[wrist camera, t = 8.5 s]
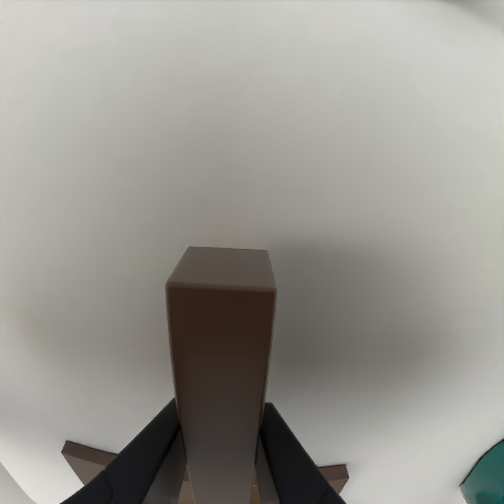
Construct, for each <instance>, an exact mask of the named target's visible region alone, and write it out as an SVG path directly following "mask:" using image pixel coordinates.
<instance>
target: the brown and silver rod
mask: <svg viewBox="0 0 504 504" xmlns="http://www.w3.org/2000/svg"><path fill="white" fill-rule="evenodd" d="M165 289H166V306H167V321H168V333H169V345H170V355H171V365H172V374H173V383H174V391H175V398H176V406H177V413H178V420H179V424H180V426H181V431H182V437H183V443H184V448H185V453H186V459H187V465H186V466H187V472H188V477H189V481H190V486H191V491H192V495H193V500H194V504H250V503H251V496H252V490H253V483H254V477H255V470H256V468H255V464H256V455H257V446H258V438H259V431H260V430H261V427H262V420H263V412H264V404H265V396H266V388H267V380H268V372H269V363H270V354H271V346H272V337H273V327H274V318H275V309H276V299H277V288H276V284H275V280H274V275H273V271H272V266H271V262H270V258H269V254H268V251H266V250H250V249H231V248H211V247H192V246H191V247H188V249H187V250H186V252H185V254H184V255H183V257H182V258H181V260H180V261H179V263H178V265H177V266H176V268H175V269H174V271H173V273H172V274H171V276H170V277H169V279H168V281H167V282H166V285H165Z"/></svg>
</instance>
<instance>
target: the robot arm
mask: <svg viewBox="0 0 504 504" xmlns="http://www.w3.org/2000/svg"><path fill="white" fill-rule="evenodd" d="M186 465H187V459H186V453H185V448H184V443H183V437H182V431H181V426H180V424H179V420H178V413H177V406H176V398H173V399H172V400H171V401H170V402H169V403H168V404H167V405H166V406H165V407H164V408H163V410H162V411H161V412H160V413H159V414H158V415H157V416H156V417H155V418H154V419H153V420H152V421H151V422H150V423H149V424H148V425H147V426H146V427H145V428H144V429H143V430H142V431H141V432H140V433H139V434H138V435H137V436H136V437H135V438H134V439H133V440H132V441H131V442H130V443H129V444H128V445H127V446H126V447H125V448H124V449H123V450H122V451H121V452H120V453H119V454H118V455H117V456H116V457H115V458H114V459H113V460H112V461H111V462H110V463H109V464H108V465H107V466H106V467H105V468H104V469H105V470H104V469H102V470H101V471H100V472H99V473H98V474H97V475H96V476H95V477H94V478H93V479H92V480H91V481H90V482H88V483H87V484H86V485H85V486H84V487H83V488H81V489H80V490H79V491H77V492H76V493H75V494H73V495H72V496H70V497H69V498H68V499H66V500H65V501H63V502H62V503H60V504H178V500H179V495H180V491H181V487H182V483H183V479H184V474H185V470H186ZM255 468H256V477H257V483H258V490H259V496H260V503H261V504H346V503H345V501H344V500H343V499H342V498H341V497H340V496H339V494H338V493H337V492H336V491H335V489H334V488H333V487H332V485H330V483H329V482H328V480H327V479H326V478H325V476H324V475H323V474H322V472H321V471H320V470H319V468H318V467H317V466H316V464H315V463H314V462H313V460H312V459H311V458H310V456H309V455H308V454H307V452H306V451H305V449H304V448H303V447H302V445H301V444H300V442H299V441H298V440H297V438H296V437H295V435H294V434H293V433H292V431H291V430H290V428H289V427H288V425H287V424H286V423H285V421H284V420H283V418H282V417H281V415H280V414H279V412H278V411H277V409H276V408H275V406H274V405H273V404H272V403H271V402H265V404H264V412H263V420H262V427H261V430H260V431H259V438H258V446H257V455H256V464H255Z"/></svg>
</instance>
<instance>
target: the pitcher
mask: <svg viewBox="0 0 504 504" xmlns="http://www.w3.org/2000/svg"><path fill="white" fill-rule="evenodd" d="M461 493H462V495H463V497H464V499H465V501H466V503H467V504H504V441H502V442H501V443H499V444H498V445H496V446H495V447H493V448H492V449H491V450H490V451H489V452H487V453H486V454H485V455H484V456H483V457H482V458H481V459H480V461H479V462H478V463H477V465H476V466H475V468H474V469H473V470H472V472H471V473H470V474H469V476H468V477H467V479H466V480H465V481H464V482H463V484H462V485H461Z"/></svg>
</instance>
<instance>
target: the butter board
mask: <svg viewBox="0 0 504 504" xmlns="http://www.w3.org/2000/svg"><path fill="white" fill-rule="evenodd" d="M61 453H62V455H63V456H64V458H65V459H66V460H67V462H68V463H69V465H70V466H71V468H72V469H73V471H74V472H75V473H76V475H77V476H78V477H79V479H80V480H81V481H82V483H83V484H84V485H86V484H87V483H88V482H90V481H91V480H92V479H93V478H94V477H95V476H96V475H97V474H98V473H99V472H100V471H101V470H102V469H104V468H105V467H106V466H107V465H108V464H109V463H110V462H111V461H112V460H113V459H114V458H115V457H116V456H117V455H115V454H110V453H106V452H102V451H99V450H95V449H91V448H88V447H84V446H81V445H78V444H75V443H72V442H68V441H66V443H65V445H64V447H63V449H62V451H61ZM104 470H105V469H104ZM319 470H320V471H321V472H322V474H323V475H324V476H325V478H326V479H327V480H328V482H329V483H330V485H332V487H333V488H334V489H335V491H336V492H337V493H338V494H339V493H340V492H341V490H342V489H343V487H344V485H345V484H346V482H347V481H348V479H349V475H348V472H347V468H346V465H340V466H332V467H323V468H319ZM178 504H194V500H193V495H192V491H191V486H190V481H189V477H188V472H187V467H186V470H185V474H184V479H183V483H182V487H181V491H180V495H179V500H178ZM250 504H261V503H260V496H259V490H258V483H257V477H256V471H255V477H254V483H253V490H252V496H251V503H250Z"/></svg>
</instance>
